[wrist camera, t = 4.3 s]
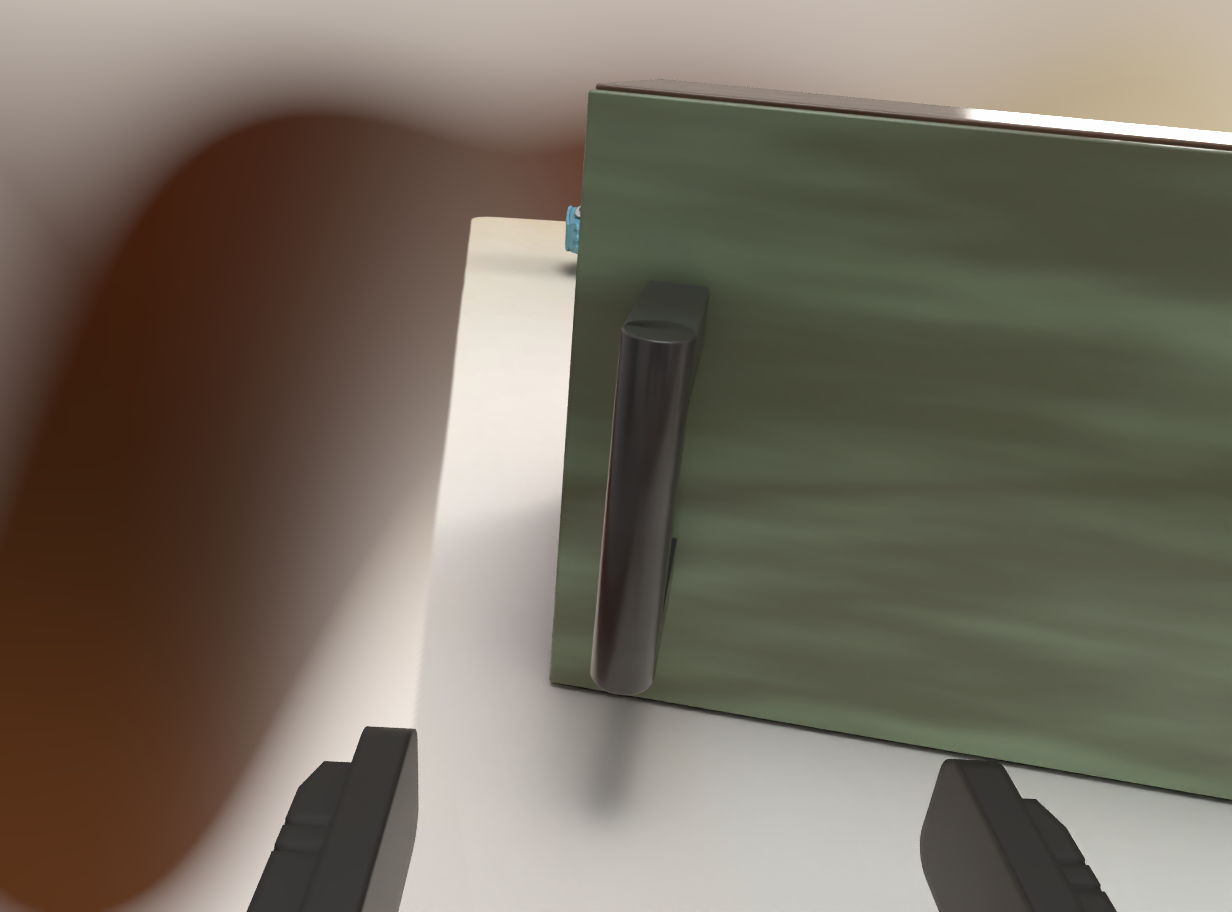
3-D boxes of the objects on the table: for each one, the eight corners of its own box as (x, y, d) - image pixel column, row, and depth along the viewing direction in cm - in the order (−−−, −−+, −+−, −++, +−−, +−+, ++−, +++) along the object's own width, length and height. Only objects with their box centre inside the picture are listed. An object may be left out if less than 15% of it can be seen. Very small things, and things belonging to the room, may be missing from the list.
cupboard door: (1372, 972, 23) (1869, 226, 15) (504, 807, 26) (534, 94, 18) (1248, 788, 30) (1557, 182, 21) (553, 668, 32) (593, 88, 24)
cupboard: (1243, 785, 30) (1552, 175, 22) (555, 667, 32) (595, 83, 24) (1087, 552, 44) (1236, 133, 36) (620, 484, 47) (659, 78, 39)
